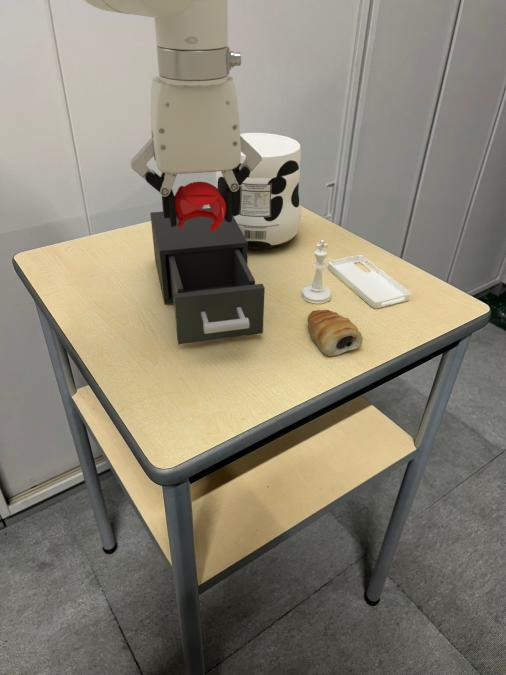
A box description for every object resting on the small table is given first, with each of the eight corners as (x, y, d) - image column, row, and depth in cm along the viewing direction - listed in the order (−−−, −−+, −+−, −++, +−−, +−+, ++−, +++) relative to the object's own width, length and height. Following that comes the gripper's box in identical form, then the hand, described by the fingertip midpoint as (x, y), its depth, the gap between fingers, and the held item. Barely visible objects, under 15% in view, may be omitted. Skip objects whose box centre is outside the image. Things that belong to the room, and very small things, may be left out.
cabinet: (246, 295, 86) (247, 242, 80) (164, 304, 83) (159, 250, 77) (228, 254, 97) (227, 206, 91) (155, 262, 94) (150, 212, 88)
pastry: (295, 324, 79) (297, 303, 77) (334, 315, 81) (337, 295, 79) (325, 360, 72) (328, 338, 70) (366, 350, 74) (371, 328, 72)
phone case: (326, 267, 94) (374, 309, 83) (326, 260, 93) (375, 302, 82) (360, 260, 96) (411, 300, 85) (361, 253, 96) (412, 293, 85)
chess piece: (335, 302, 85) (342, 246, 79) (306, 305, 84) (312, 249, 78) (325, 286, 88) (331, 232, 82) (297, 289, 87) (302, 235, 81)
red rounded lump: (168, 218, 69) (165, 174, 65) (210, 212, 71) (209, 168, 67) (187, 243, 63) (184, 196, 60) (232, 236, 65) (232, 189, 62)
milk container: (265, 212, 113) (268, 126, 103) (317, 241, 102) (327, 149, 92) (197, 230, 105) (192, 139, 94) (245, 265, 94) (246, 166, 83)
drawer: (271, 351, 72) (273, 304, 68) (182, 363, 70) (179, 316, 65) (241, 287, 86) (242, 244, 81) (166, 295, 83) (162, 251, 79)
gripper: (261, 58, 61) (257, 204, 71) (110, 60, 57) (130, 214, 68) (279, 69, 55) (272, 226, 65) (112, 73, 51) (133, 238, 62)
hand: (199, 219), depth 67 cm, fingers closed on red rounded lump, 6 cm apart
